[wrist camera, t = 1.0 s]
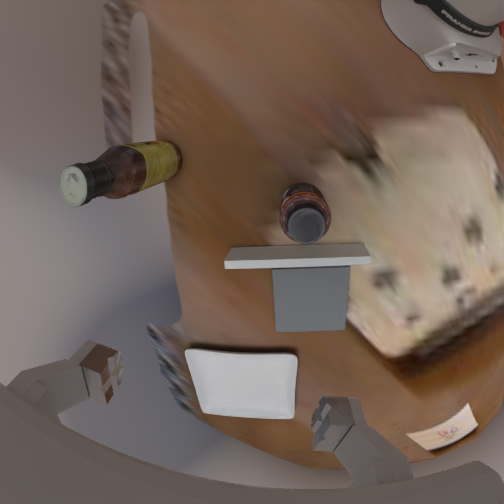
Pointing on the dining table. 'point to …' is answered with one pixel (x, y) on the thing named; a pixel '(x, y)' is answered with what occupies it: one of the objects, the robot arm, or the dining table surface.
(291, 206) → the supplement bottle
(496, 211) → the dining table surface
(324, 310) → the rubber mat
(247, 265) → the acrylic wall
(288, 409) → the salad plate
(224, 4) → the dining table surface
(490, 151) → the dining table surface
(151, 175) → the sauce bottle
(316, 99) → the dining table surface
